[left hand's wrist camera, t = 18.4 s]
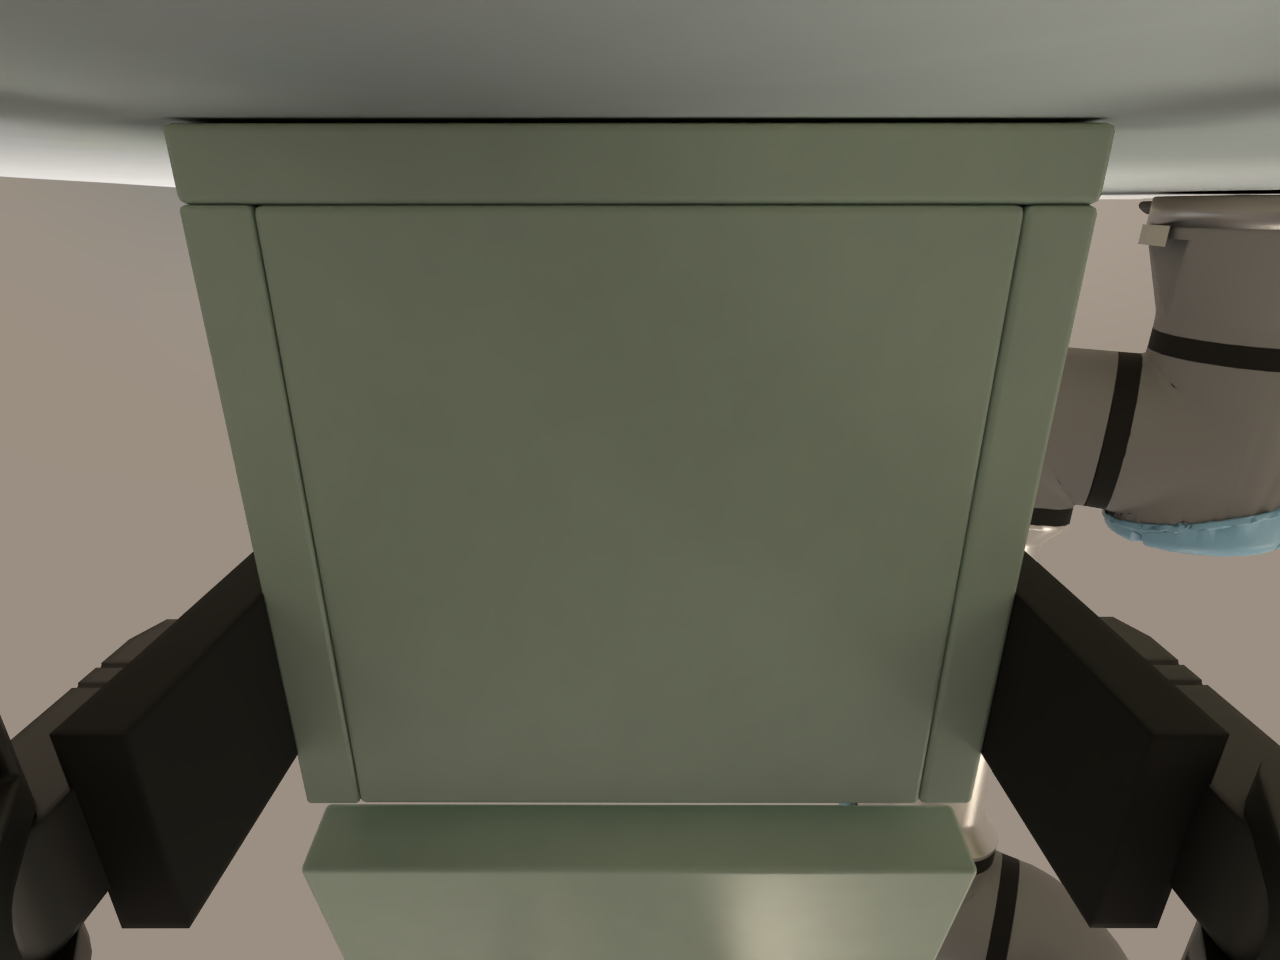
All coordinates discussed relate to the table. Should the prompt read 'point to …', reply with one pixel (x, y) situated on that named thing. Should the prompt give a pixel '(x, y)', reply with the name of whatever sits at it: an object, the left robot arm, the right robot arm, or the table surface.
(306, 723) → the chest
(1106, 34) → the table surface
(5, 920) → the left robot arm
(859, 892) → the lid
